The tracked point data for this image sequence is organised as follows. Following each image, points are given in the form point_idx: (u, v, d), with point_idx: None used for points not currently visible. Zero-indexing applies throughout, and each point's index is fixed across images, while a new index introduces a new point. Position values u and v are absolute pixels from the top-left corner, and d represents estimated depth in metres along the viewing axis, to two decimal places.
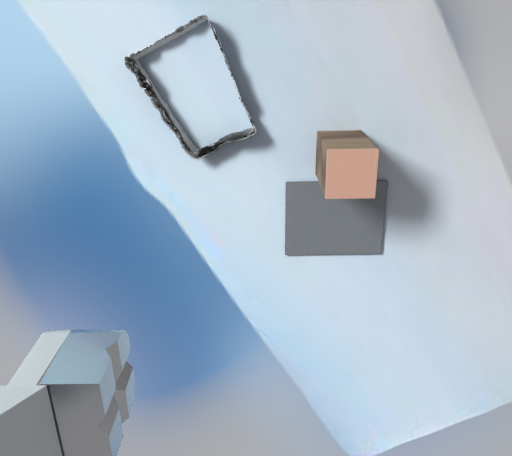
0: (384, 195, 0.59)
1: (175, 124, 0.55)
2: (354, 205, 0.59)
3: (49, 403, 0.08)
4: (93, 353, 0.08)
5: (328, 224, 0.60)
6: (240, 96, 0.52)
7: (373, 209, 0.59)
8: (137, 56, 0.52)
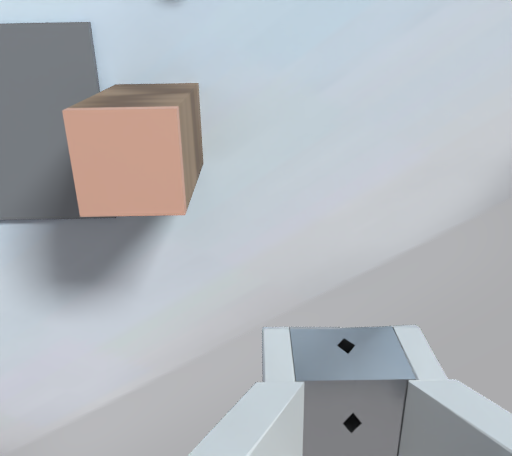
0: None
1: None
2: (61, 164, 0.31)
3: (304, 399, 0.08)
4: (327, 350, 0.08)
5: (12, 116, 0.30)
6: None
7: (58, 199, 0.32)
8: None
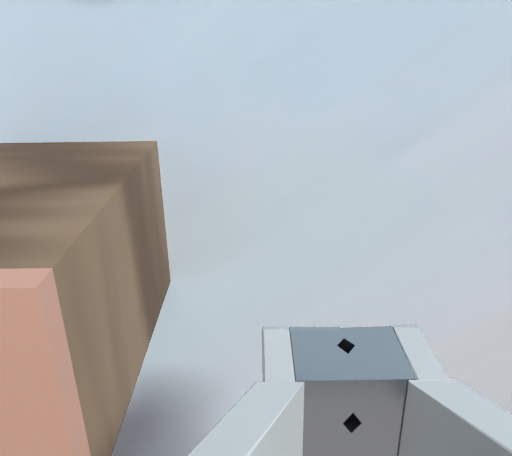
0: None
1: None
2: None
3: (304, 399, 0.08)
4: (327, 350, 0.08)
5: None
6: None
7: None
8: None
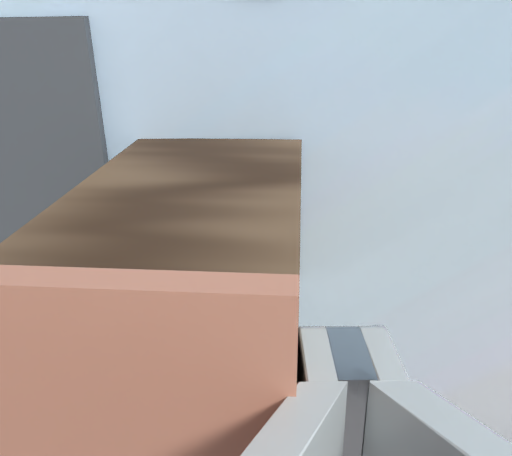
0: None
1: None
2: None
3: (347, 399, 0.08)
4: (366, 349, 0.08)
5: None
6: None
7: None
8: None
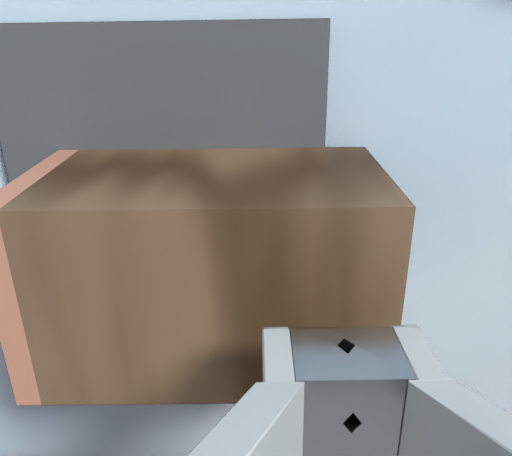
0: None
1: None
2: None
3: (304, 399, 0.08)
4: (327, 350, 0.08)
5: None
6: None
7: None
8: None
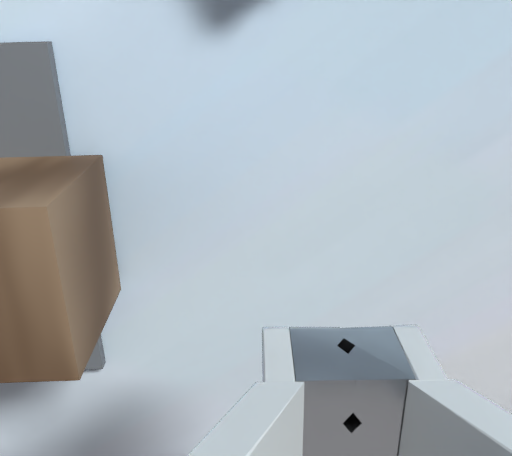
0: None
1: None
2: None
3: (304, 399, 0.08)
4: (327, 350, 0.08)
5: None
6: None
7: None
8: None
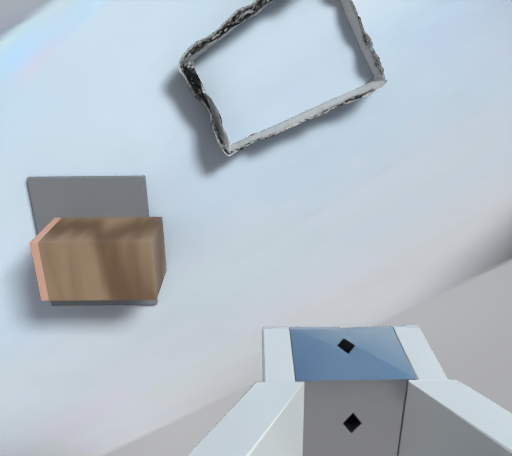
0: (137, 302, 0.44)
1: (230, 29, 0.35)
2: None
3: (304, 399, 0.08)
4: (327, 350, 0.08)
5: None
6: (278, 133, 0.37)
7: None
8: None
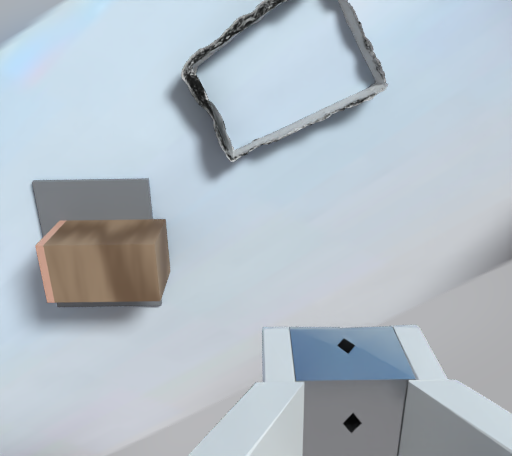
0: (141, 303, 0.45)
1: None
2: None
3: (304, 399, 0.08)
4: (327, 350, 0.08)
5: None
6: (281, 138, 0.37)
7: None
8: None
